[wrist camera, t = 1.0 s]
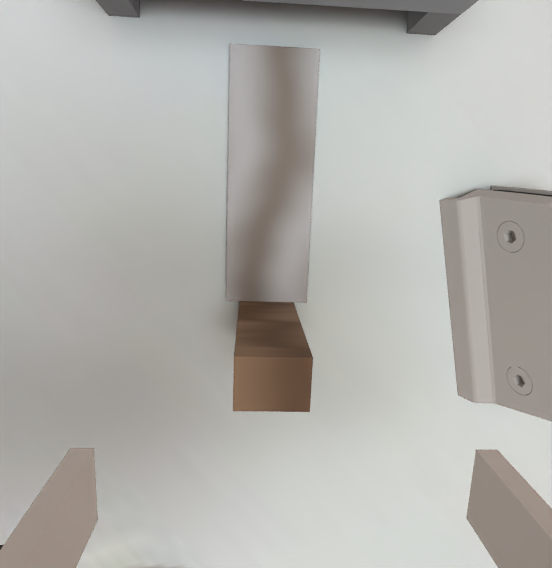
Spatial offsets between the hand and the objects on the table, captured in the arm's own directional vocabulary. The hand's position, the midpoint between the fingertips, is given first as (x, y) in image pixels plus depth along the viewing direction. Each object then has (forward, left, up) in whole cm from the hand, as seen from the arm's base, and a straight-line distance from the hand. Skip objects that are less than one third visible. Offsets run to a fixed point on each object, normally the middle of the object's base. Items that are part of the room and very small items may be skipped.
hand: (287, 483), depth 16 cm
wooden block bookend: (0, +9, -20) cm, 22 cm away
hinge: (+18, +2, -21) cm, 27 cm away
